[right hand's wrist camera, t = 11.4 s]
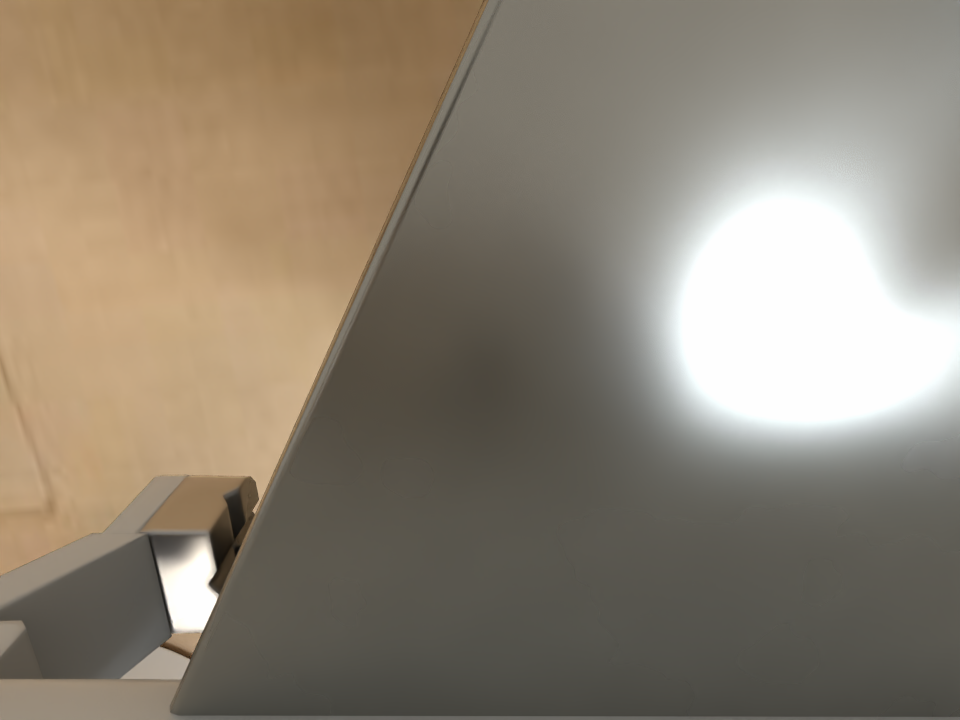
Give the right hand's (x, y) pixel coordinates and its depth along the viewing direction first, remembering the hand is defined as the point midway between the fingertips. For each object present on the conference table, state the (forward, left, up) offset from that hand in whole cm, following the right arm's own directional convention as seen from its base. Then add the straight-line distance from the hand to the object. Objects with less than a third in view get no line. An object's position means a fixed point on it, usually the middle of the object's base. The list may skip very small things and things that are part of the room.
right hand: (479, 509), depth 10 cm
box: (+6, +4, -5) cm, 9 cm away
